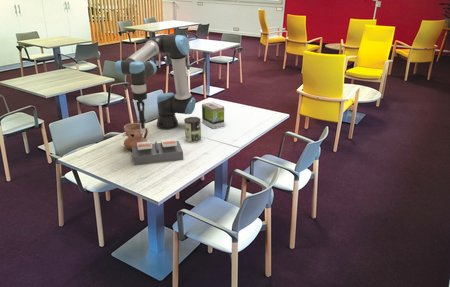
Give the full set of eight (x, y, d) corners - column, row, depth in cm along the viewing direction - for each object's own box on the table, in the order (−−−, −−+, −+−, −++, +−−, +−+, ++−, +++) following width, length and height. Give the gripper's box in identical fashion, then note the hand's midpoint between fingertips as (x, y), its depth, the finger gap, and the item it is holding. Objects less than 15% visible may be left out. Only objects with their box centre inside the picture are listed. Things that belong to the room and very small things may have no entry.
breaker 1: (136, 145, 218) (136, 142, 217) (151, 143, 220) (150, 140, 219) (137, 150, 205) (137, 146, 204) (152, 148, 207) (152, 145, 206)
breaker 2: (160, 142, 221) (160, 139, 221) (174, 141, 223) (174, 138, 223) (162, 147, 208) (162, 144, 208) (177, 145, 210) (177, 142, 210)
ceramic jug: (131, 155, 219) (129, 133, 213) (117, 148, 227) (115, 126, 222) (155, 146, 231) (154, 125, 225) (141, 140, 240) (140, 119, 234)
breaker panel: (132, 153, 221) (131, 142, 218) (179, 148, 227) (178, 137, 225) (134, 165, 207) (132, 154, 204) (183, 159, 213) (182, 148, 210)
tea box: (224, 126, 262) (224, 106, 256) (212, 129, 256) (212, 109, 250) (213, 120, 273) (213, 101, 267) (201, 123, 268) (201, 103, 262)
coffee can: (202, 137, 243) (202, 117, 238) (198, 143, 234) (198, 122, 229) (187, 136, 245) (187, 116, 240) (183, 142, 236) (182, 121, 230)
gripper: (131, 89, 199) (135, 129, 208) (132, 95, 187) (136, 138, 197) (145, 88, 201) (149, 128, 210) (147, 94, 189) (151, 136, 199)
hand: (143, 133), depth 204 cm, fingers closed
